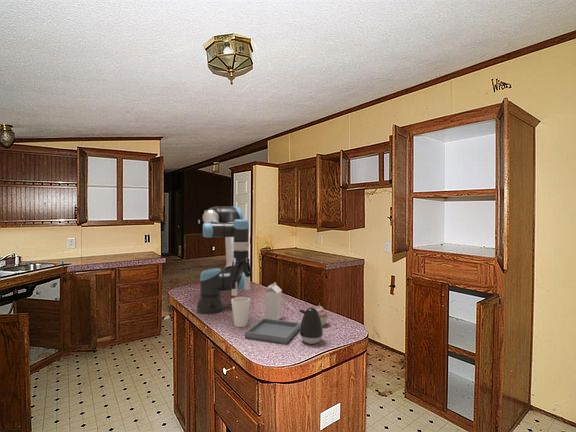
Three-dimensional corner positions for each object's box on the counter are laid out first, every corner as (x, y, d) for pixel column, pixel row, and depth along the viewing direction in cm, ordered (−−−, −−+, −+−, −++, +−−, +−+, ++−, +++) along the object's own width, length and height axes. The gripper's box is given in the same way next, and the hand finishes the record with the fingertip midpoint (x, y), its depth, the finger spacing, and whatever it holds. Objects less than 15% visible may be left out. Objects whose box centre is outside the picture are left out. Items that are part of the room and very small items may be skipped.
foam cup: (246, 328, 161) (246, 302, 160) (228, 327, 163) (228, 301, 162) (252, 322, 170) (252, 297, 170) (235, 321, 172) (235, 296, 172)
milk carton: (281, 317, 178) (282, 282, 177) (277, 322, 171) (277, 285, 171) (269, 316, 180) (269, 281, 180) (264, 320, 173) (264, 284, 173)
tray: (244, 338, 149) (245, 331, 149) (262, 324, 168) (262, 318, 168) (286, 344, 142) (286, 337, 142) (300, 329, 161) (300, 323, 161)
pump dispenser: (298, 337, 150) (298, 304, 150) (320, 336, 151) (320, 304, 151) (300, 346, 140) (301, 311, 140) (324, 346, 141) (325, 310, 141)
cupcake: (305, 324, 168) (306, 304, 168) (319, 320, 174) (319, 301, 173) (318, 329, 161) (318, 309, 160) (332, 325, 166) (332, 305, 166)
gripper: (235, 253, 152) (235, 298, 153) (258, 247, 176) (258, 287, 176) (221, 252, 155) (221, 297, 155) (245, 247, 179) (245, 286, 179)
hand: (240, 292), depth 166 cm, fingers open, 13 cm apart
